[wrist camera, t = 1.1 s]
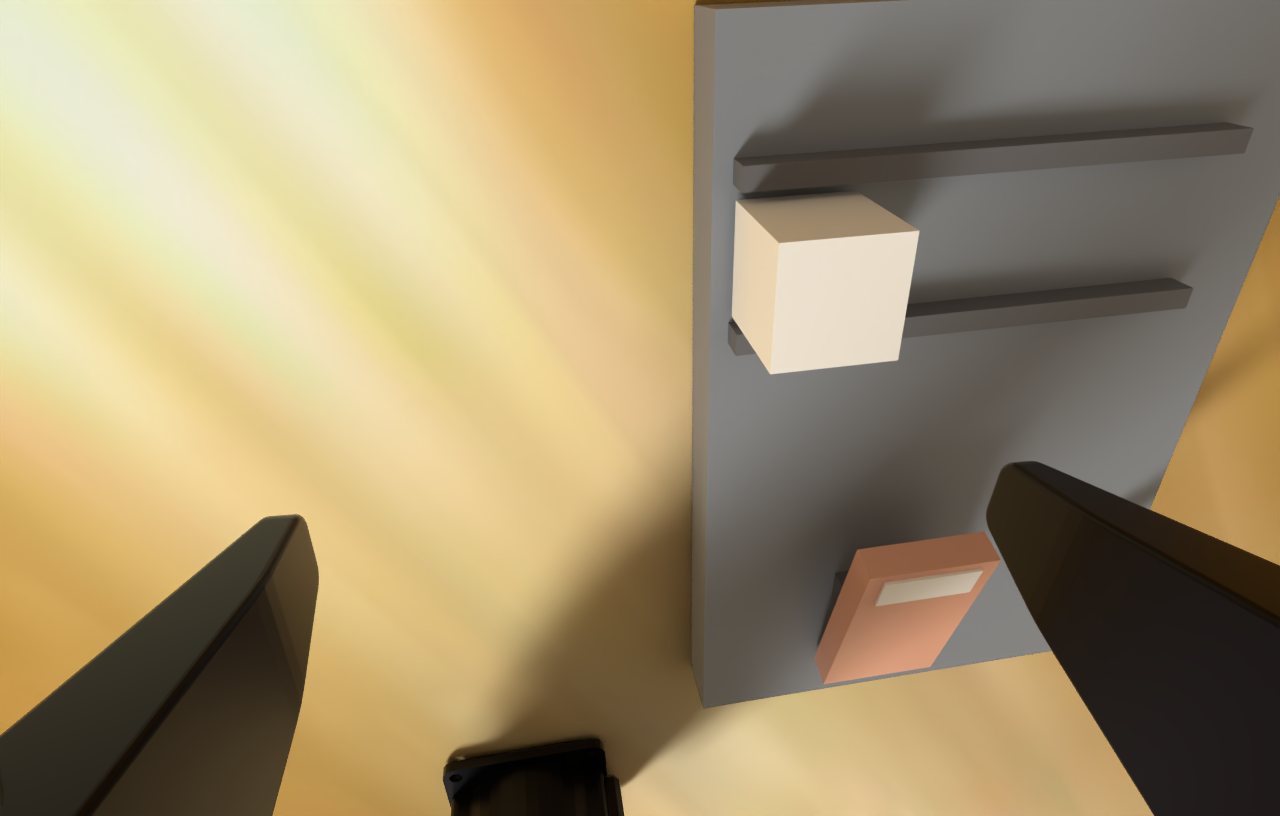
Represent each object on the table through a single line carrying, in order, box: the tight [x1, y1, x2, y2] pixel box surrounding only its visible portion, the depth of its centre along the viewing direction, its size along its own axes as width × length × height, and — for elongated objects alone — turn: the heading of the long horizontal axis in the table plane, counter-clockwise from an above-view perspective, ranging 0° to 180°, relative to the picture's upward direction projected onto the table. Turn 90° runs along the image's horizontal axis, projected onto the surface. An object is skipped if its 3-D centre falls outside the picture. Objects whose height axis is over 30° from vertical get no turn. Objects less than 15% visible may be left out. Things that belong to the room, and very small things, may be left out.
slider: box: [732, 191, 919, 374], centre depth 17 cm, size 3×3×3 cm
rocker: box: [814, 532, 1001, 684], centre depth 24 cm, size 4×7×1 cm, turn 2°
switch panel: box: [691, 0, 1280, 708], centre depth 23 cm, size 16×23×3 cm
